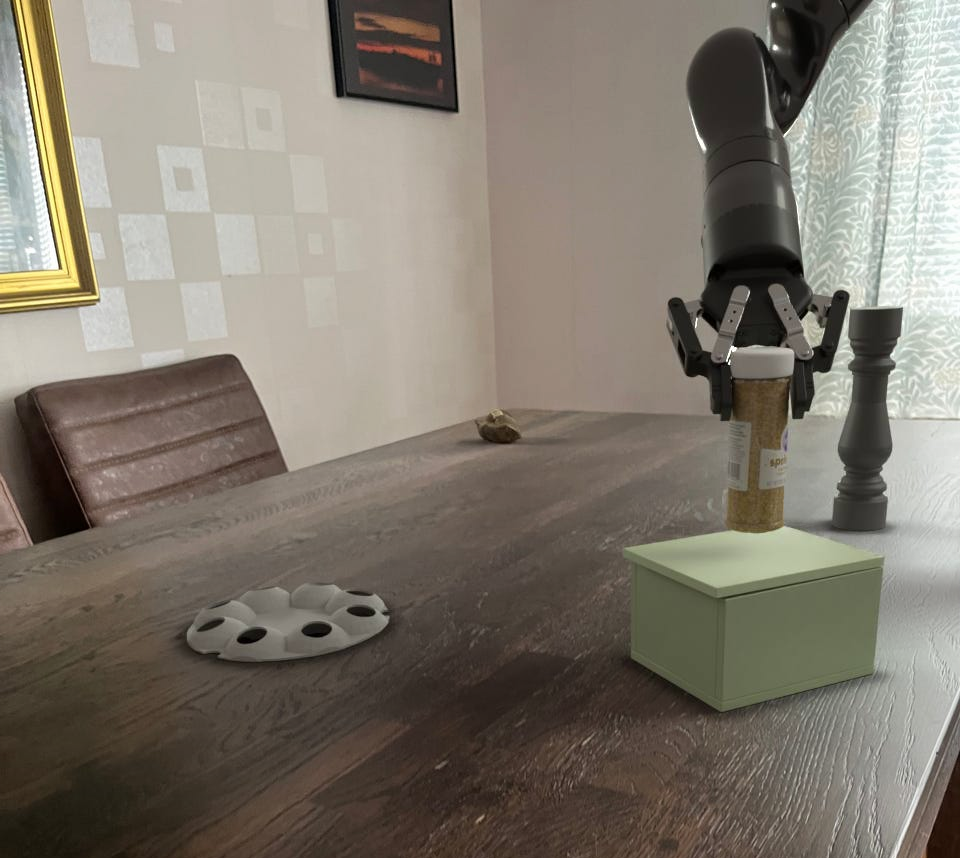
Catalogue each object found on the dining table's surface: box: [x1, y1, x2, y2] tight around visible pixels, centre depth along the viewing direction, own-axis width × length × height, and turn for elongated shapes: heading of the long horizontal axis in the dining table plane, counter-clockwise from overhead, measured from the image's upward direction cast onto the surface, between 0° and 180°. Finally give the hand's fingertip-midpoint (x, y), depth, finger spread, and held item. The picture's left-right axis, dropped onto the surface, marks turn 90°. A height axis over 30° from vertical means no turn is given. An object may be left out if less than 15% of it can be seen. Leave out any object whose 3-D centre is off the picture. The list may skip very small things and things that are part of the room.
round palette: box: [186, 582, 390, 663], centre depth 97 cm, size 20×20×2 cm
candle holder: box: [831, 305, 904, 532], centre depth 117 cm, size 6×6×25 cm
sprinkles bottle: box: [724, 346, 794, 533], centre depth 76 cm, size 5×5×13 cm
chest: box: [630, 561, 884, 713], centre depth 80 cm, size 15×13×9 cm
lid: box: [622, 524, 885, 598], centre depth 79 cm, size 15×13×1 cm
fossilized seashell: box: [474, 408, 523, 443], centre depth 191 cm, size 8×7×10 cm
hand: (763, 412), depth 73 cm, fingers closed on sprinkles bottle, 4 cm apart
